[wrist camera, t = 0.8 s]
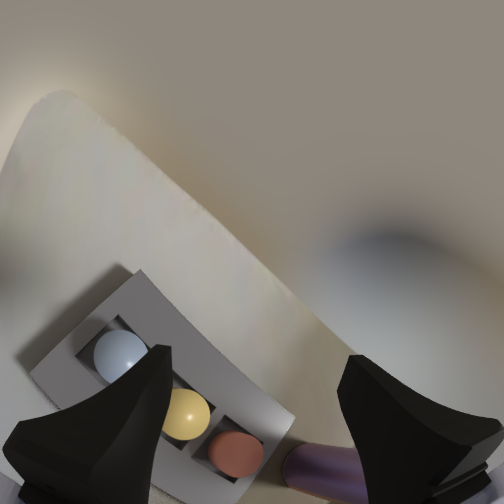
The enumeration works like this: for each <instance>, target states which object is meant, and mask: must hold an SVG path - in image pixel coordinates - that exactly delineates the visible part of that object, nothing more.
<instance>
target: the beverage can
mask: <svg viewBox="0 0 504 504" xmlns="http://www.w3.org/2000/svg"><path fill="white" fill-rule="evenodd" d="M283 477H284V480H285V482H286V484H287V485H288V486H289V487H290V488H292V489H295V490H297V491H300V492H303V493H306V494H309V495H312V496H315V497H318V498H321V499H325V500H328V501H331V502H335V503H339V504H369V503H368V495H367V489H366V483H365V478H364V473H363V469H362V465H361V461H360V457H359V454H358V451H357V449H355V448H345V447H337V446H329V445H322V444H316V443H305V444H303V445H300V446H298V447H297V448H295V449H294V450H293V451H292V452H291V453H290V454H289V455H288V456H287V458H286V460H285V462H284V465H283Z"/></svg>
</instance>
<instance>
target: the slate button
mask: <svg viewBox="0 0 504 504" xmlns="http://www.w3.org/2000/svg"><path fill="white" fill-rule="evenodd" d="M147 352H148V351H147V348H146V346H145V344H144V343H143V342H142V340H141V339H140V338H139V337H138V336H136V335H135V334H133V333H131V332H129V331H125V330H113V331H110V332H108V333H106V334H104V335H103V336H102V337H101V338H100V339H99V340H98V342H97V344H96V346H95V350H94V363H95V366H96V368H97V370H98V372H99V373H100V375H101V376H102V377H103V378H104V379H105V380H106V381H108V382H109V383H113V382H114V381H115V380H116V379H118V378H119V377H120V376H122V375H123V374H124V373H125V372H126V371H128V370H129V369H130V368H131V367H132V366H133V365H134V364H135V363H137V362H138V361H139V360H140V359H141V358H142V357H143V356H144V355H145V354H146V353H147Z"/></svg>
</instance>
